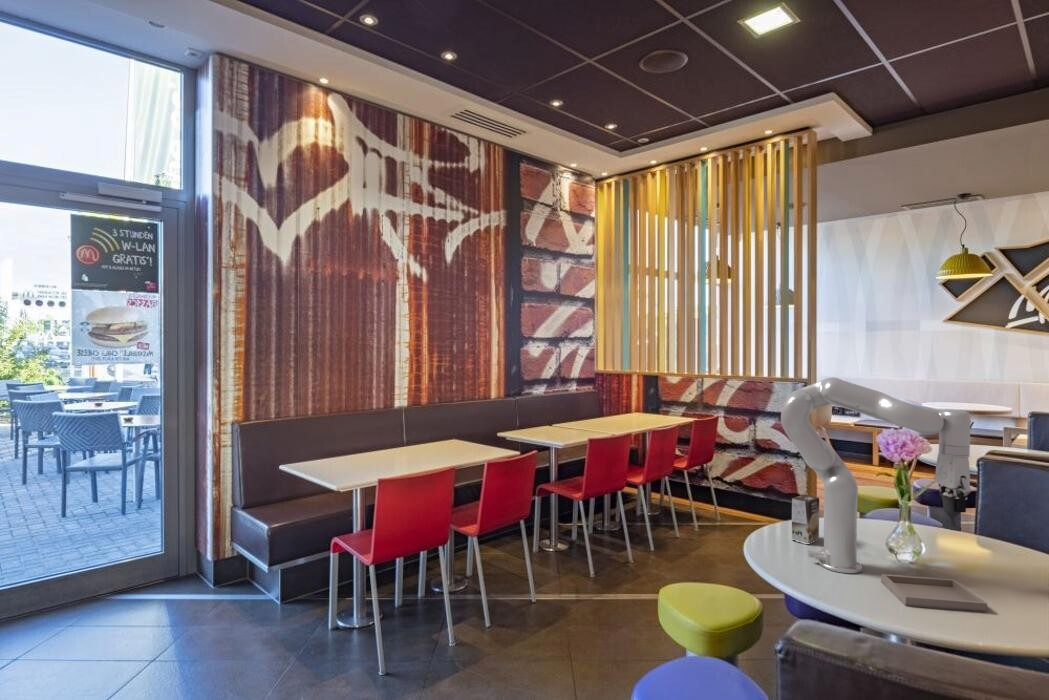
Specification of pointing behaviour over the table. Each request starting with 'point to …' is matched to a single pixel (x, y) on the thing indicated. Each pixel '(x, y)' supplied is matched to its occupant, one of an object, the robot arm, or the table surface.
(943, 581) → the tray
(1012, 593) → the table surface
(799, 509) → the coffee box
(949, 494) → the sundae
